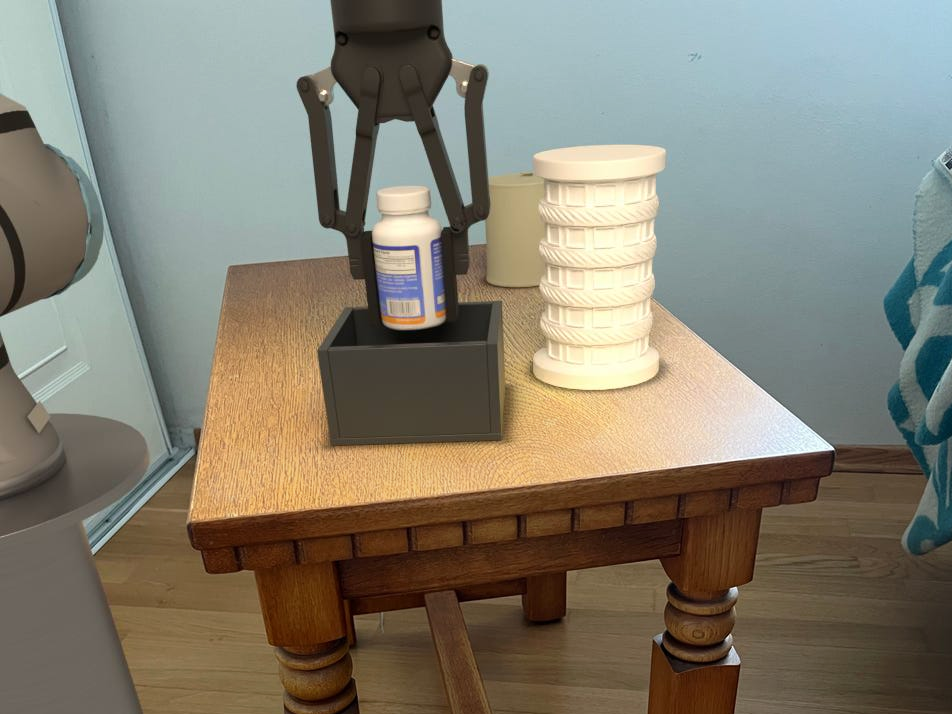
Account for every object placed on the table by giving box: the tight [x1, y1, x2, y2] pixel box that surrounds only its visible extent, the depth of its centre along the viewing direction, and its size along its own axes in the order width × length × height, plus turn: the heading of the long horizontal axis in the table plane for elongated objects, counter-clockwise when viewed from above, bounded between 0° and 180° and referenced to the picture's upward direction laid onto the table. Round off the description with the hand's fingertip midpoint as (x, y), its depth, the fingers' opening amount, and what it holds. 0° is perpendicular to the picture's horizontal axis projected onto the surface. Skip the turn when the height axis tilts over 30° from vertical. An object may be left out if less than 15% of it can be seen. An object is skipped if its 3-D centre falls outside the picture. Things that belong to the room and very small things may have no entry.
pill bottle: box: [371, 185, 447, 330], centre depth 72 cm, size 5×5×10 cm
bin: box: [316, 300, 506, 447], centre depth 77 cm, size 14×13×8 cm
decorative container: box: [532, 144, 667, 391], centre depth 82 cm, size 12×12×18 cm
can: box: [484, 171, 545, 288], centre depth 115 cm, size 9×9×12 cm
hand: (414, 318), depth 75 cm, fingers closed on pill bottle, 5 cm apart
